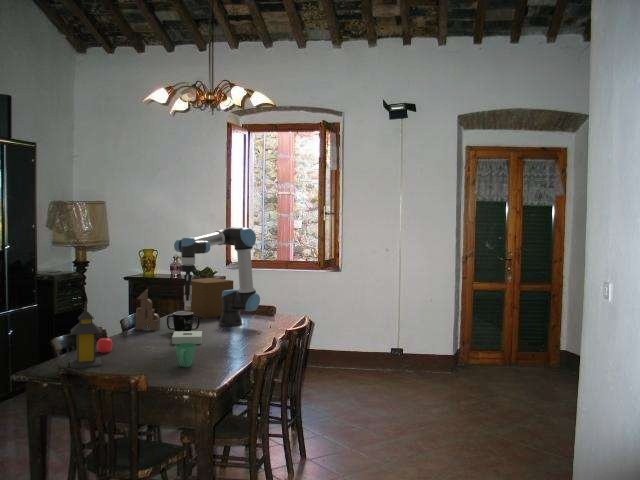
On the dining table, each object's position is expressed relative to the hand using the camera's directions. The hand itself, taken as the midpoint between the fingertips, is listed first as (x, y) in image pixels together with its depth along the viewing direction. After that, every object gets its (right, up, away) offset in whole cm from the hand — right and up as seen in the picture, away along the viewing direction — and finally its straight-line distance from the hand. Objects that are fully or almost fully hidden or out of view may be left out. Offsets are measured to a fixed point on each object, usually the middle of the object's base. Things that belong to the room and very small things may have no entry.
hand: (187, 305), depth 344 cm
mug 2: (+11, -23, -57) cm, 63 cm away
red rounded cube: (-37, -21, -29) cm, 52 cm away
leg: (0, -3, 0) cm, 3 cm away
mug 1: (-8, -19, +25) cm, 33 cm away
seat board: (0, -20, +1) cm, 20 cm away
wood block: (-5, -17, +91) cm, 93 cm away
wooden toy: (-33, -19, +33) cm, 50 cm away
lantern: (-37, -22, -55) cm, 70 cm away
